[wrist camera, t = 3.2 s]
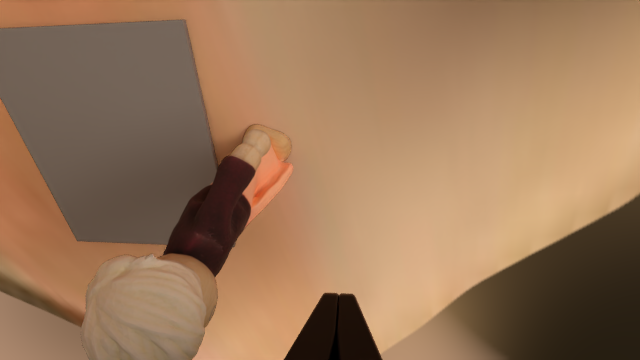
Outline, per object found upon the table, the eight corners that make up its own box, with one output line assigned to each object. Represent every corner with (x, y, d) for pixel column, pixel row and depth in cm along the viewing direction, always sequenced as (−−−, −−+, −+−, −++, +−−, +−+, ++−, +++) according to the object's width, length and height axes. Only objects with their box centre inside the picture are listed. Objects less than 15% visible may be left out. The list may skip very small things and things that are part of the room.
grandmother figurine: (276, 213, 20) (176, 465, 9) (219, 192, 20) (42, 426, 9) (318, 104, 16) (235, 303, 5) (249, 76, 16) (4, 224, 5)
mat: (185, 19, 15) (182, 19, 15) (235, 244, 22) (233, 247, 21) (-30, 30, 16) (-36, 30, 16) (80, 238, 23) (77, 241, 23)
